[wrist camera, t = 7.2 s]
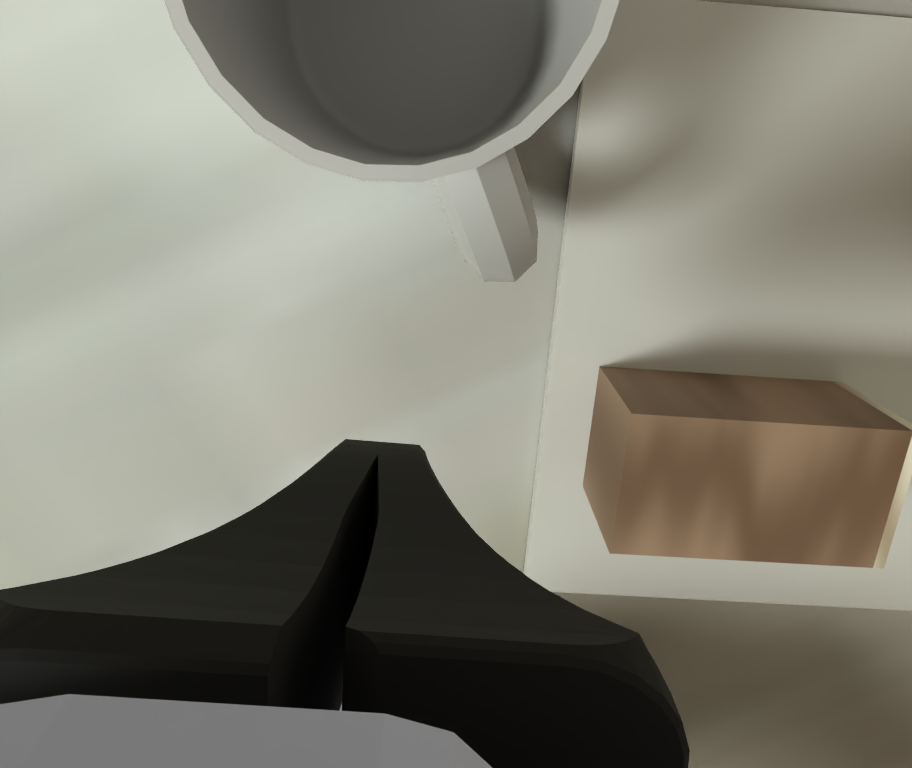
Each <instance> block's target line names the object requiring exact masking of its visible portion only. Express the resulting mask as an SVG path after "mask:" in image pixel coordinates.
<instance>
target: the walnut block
mask: <svg viewBox="0 0 912 768" xmlns="http://www.w3.org/2000/svg"><path fill="white" fill-rule="evenodd" d="M911 476H912V424H911V423H909V422H908V421H906V420H904V419H903V418H901V417H899V416H898V415H896V414H894V413H893V412H891V411H890V410H888V409H886V408H885V407H883V406H881V405H880V404H878V403H876V402H875V401H873V400H871V399H870V398H868V397H866V396H865V395H863V394H862V393H860V392H858V391H857V390H855V389H853V388H852V387H850V386H848V385H847V384H845V383H843V382H836V381H820V380H805V379H789V378H774V377H758V376H743V375H727V374H712V373H696V372H681V371H665V370H649V369H634V368H618V367H603V366H599V373H598V380H597V387H596V394H595V401H594V408H593V415H592V422H591V429H590V437H589V444H588V451H587V458H586V465H585V472H584V479H583V488H584V491H585V493H586V496H587V498H588V501H589V503H590V506H591V508H592V511H593V513H594V516H595V518H596V521H597V523H598V526H599V528H600V531H601V533H602V536H603V538H604V541H605V543H606V546H607V548H608V551H609V553H610V554H627V555H645V556H663V557H682V558H700V559H718V560H736V561H755V562H773V563H791V564H809V565H827V566H846V567H864V568H882V569H884V567H885V563H886V560H887V557H888V553H889V550H890V547H891V543H892V540H893V536H894V533H895V530H896V526H897V523H898V520H899V516H900V513H901V510H902V506H903V503H904V500H905V496H906V493H907V490H908V486H909V483H910V480H911Z"/></svg>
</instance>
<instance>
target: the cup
mask: <svg viewBox="0 0 912 768" xmlns="http://www.w3.org/2000/svg"><path fill="white" fill-rule="evenodd" d="M618 3H619V0H165V4H166V7H167V10H168V13H169V16H170V19H171V22H172V25H173V28H174V29H175V31H176V33H177V34H178V36H179V37H180V39H181V41H182V42H183V44H184V46H185V47H186V49H187V51H188V52H189V54H190V55H191V57H192V59H193V60H194V62H195V64H196V65H197V67H198V69H199V70H200V72H201V73H202V75H203V77H204V78H205V80H206V82H207V83H208V85H209V86H210V87H211V88H212V89H213V90H214V91H215V92H216V93H217V94H218V95H219V96H220V97H221V98H222V99H223V100H224V102H225V103H226V104H227V105H228V106H229V107H230V108H231V109H232V110H233V111H234V112H235V113H236V114H237V115H238V116H239V117H240V118H241V119H242V120H243V121H244V122H245V123H246V124H247V125H248V126H249V127H250V128H251V129H252V130H253V131H254V132H255V133H257V134H259V135H260V136H262V137H264V138H265V139H267V140H269V141H270V142H272V143H273V144H275V145H277V146H278V147H280V148H282V149H283V150H285V151H287V152H288V153H290V154H292V155H293V156H295V157H297V158H298V159H300V160H301V161H303V162H305V163H306V164H309V165H313V166H316V167H319V168H323V169H326V170H329V171H332V172H336V173H339V174H342V175H346V176H349V177H352V178H356V179H359V180H362V181H395V182H423V181H427V180H431V181H432V183H433V186H434V188H435V191H436V194H437V196H438V199H439V201H440V204H441V207H442V209H443V212H444V214H445V217H446V219H447V222H448V224H449V227H450V229H451V232H452V234H453V236H454V239H455V241H456V243H457V246H458V248H459V251H460V253H461V255H462V257H463V258H464V260H465V261H466V263H467V264H468V265H469V266H470V267H471V268H472V269H473V270H474V271H475V272H476V273H477V274H478V275H479V276H480V277H481V278H482V279H483V280H484V281H492V282H515V281H516V280H517V279H518V278H519V277H520V276H521V275H522V274H524V273H525V272H526V271H527V270H528V269H529V268H530V267H531V266H532V265H533V264H534V263H535V262H536V260H537V238H538V229H537V220H536V216H535V212H534V208H533V204H532V200H531V197H530V194H529V190H528V187H527V184H526V181H525V177H524V174H523V171H522V168H521V165H520V162H519V159H518V157H517V154H516V151H515V148H514V146H516V145H518V144H520V143H521V142H523V141H525V140H527V139H528V138H529V137H530V136H531V135H532V134H533V133H535V132H536V131H537V130H538V129H539V128H540V127H541V126H542V125H543V124H544V123H545V122H546V121H547V120H548V119H549V118H550V117H551V116H552V115H553V114H554V113H555V112H556V111H557V110H558V109H559V108H560V107H561V106H562V105H563V104H564V103H565V102H566V101H567V100H568V99H569V98H570V97H571V96H572V95H573V94H574V92H575V91H576V89H577V87H578V86H579V84H580V82H581V81H582V79H583V77H584V76H585V74H586V73H587V71H588V69H589V68H590V66H591V64H592V63H593V61H594V59H595V58H596V56H597V55H598V53H599V51H600V50H601V48H602V46H603V45H604V43H605V41H606V40H607V37H608V34H609V31H610V28H611V25H612V22H613V19H614V16H615V13H616V9H617V6H618Z"/></svg>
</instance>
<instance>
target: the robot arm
mask: <svg viewBox="0 0 912 768" xmlns="http://www.w3.org/2000/svg"><path fill="white" fill-rule="evenodd" d="M689 751H690V750H689V747H688V743H687V739H686V735H685V731H684V727H683V723H682V721H681V718H680V715H679V713H678V710H677V708H676V705H675V703H674V700H673V697H672V695H671V693H670V691H669V689H668V687H667V685H666V683H665V681H664V679H663V677H662V675H661V673H660V671H659V669H658V667H657V665H656V663H655V662H654V660H653V658H652V656H651V655H650V653H649V651H648V650H647V648H646V646H645V644H644V642H643V640H642V638H641V636H640V635H639V633H636V632H634V631H632V630H629V629H627V628H625V627H622V626H620V625H618V624H615V623H613V622H611V621H608V620H606V619H604V618H602V617H599V616H597V615H595V614H592V613H590V612H588V611H585V610H583V609H581V608H579V607H577V606H576V605H574V604H572V603H570V602H568V601H567V600H565V599H563V598H561V597H559V596H558V595H556V594H554V593H552V592H550V591H549V590H547V589H546V588H544V587H542V586H541V585H539V584H538V583H536V582H535V581H533V580H532V579H530V578H529V577H527V576H526V575H525V574H523V573H522V572H521V571H519V570H518V569H517V568H515V567H514V566H512V565H511V564H510V563H508V562H507V561H506V560H505V559H503V558H502V557H501V556H500V555H499V554H497V553H496V552H495V551H494V550H493V549H492V548H491V547H490V546H489V545H488V544H487V543H486V542H485V541H484V540H483V539H482V538H480V537H479V536H478V535H477V534H476V533H475V531H474V530H473V529H472V528H471V527H470V525H469V524H468V523H467V522H466V520H465V519H464V518H463V517H462V515H461V514H460V513H459V512H458V510H457V509H456V507H455V506H454V505H453V503H452V502H451V500H450V499H449V497H448V496H447V494H446V493H445V491H444V489H443V488H442V486H441V485H440V483H439V481H438V480H437V478H436V476H435V474H434V472H433V470H432V468H431V466H430V464H429V462H428V459H427V457H426V453H425V451H424V450H423V449H422V448H421V446H420V445H413V444H400V443H387V442H374V441H361V440H349V439H345V440H344V441H343V442H342V443H340V444H339V445H338V446H337V447H335V448H334V449H333V450H332V451H330V452H329V453H328V454H327V455H326V456H325V457H324V458H322V459H321V460H320V461H319V462H318V463H316V464H315V465H314V466H313V467H312V468H310V469H309V470H308V471H307V472H305V473H304V474H303V475H302V476H300V477H299V478H298V479H297V480H295V481H294V482H293V483H291V484H290V485H289V486H287V487H286V488H284V489H283V490H281V491H280V492H278V493H277V494H275V495H274V496H272V497H271V498H269V499H268V500H266V501H265V502H264V503H262V504H261V505H259V506H257V507H256V508H254V509H252V510H250V511H249V512H247V513H245V514H243V515H242V516H240V517H238V518H236V519H234V520H232V521H230V522H228V523H226V524H224V525H222V526H220V527H218V528H216V529H214V530H212V531H210V532H208V533H205V534H203V535H200V536H198V537H195V538H193V539H190V540H188V541H185V542H183V543H180V544H178V545H175V546H173V547H170V548H168V549H165V550H163V551H160V552H157V553H154V554H151V555H148V556H145V557H142V558H139V559H136V560H132V561H129V562H126V563H122V564H119V565H115V566H111V567H108V568H104V569H100V570H97V571H93V572H89V573H84V574H80V575H76V576H71V577H66V578H61V579H56V580H51V581H45V582H40V583H35V584H30V585H25V586H20V587H15V588H9V589H2V590H0V768H688V761H689Z"/></svg>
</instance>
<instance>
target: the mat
mask: <svg viewBox="0 0 912 768" xmlns="http://www.w3.org/2000/svg"><path fill="white" fill-rule="evenodd" d="M599 366H603V367H618V368H634V369H649V370H665V371H681V372H696V373H712V374H727V375H743V376H758V377H774V378H789V379H805V380H820V381H836V382H843V383H845V384H847V385H848V386H850V387H852V388H853V389H855V390H857V391H858V392H860V393H862V394H863V395H865V396H866V397H868V398H870V399H871V400H873V401H875V402H876V403H878V404H880V405H881V406H883V407H885V408H886V409H888V410H890V411H891V412H893V413H894V414H896V415H898V416H899V417H901V418H903V419H904V420H906V421H908V422H909V423H911V424H912V18H904V17H892V16H880V15H868V14H856V13H844V12H832V11H820V10H808V9H796V8H784V7H772V6H760V5H748V4H736V3H724V2H712V1H700V0H619V3H618V6H617V9H616V13H615V16H614V19H613V22H612V25H611V28H610V31H609V34H608V37H607V40H606V41H605V43H604V45H603V46H602V48H601V50H600V51H599V53H598V55H597V56H596V58H595V59H594V61H593V63H592V64H591V66H590V68H589V69H588V71H587V73H586V74H585V76H584V77H583V79H582V81H581V84H580V93H579V101H578V110H577V118H576V127H575V135H574V144H573V153H572V161H571V170H570V178H569V187H568V195H567V204H566V212H565V221H564V230H563V238H562V247H561V255H560V264H559V272H558V281H557V290H556V298H555V307H554V315H553V324H552V332H551V341H550V350H549V358H548V367H547V375H546V384H545V392H544V401H543V410H542V418H541V427H540V435H539V444H538V452H537V461H536V470H535V478H534V487H533V495H532V504H531V512H530V521H529V530H528V538H527V547H526V555H525V564H524V572H523V574H525V575H526V576H527V577H529V578H530V579H532V580H533V581H535V582H536V583H538V584H539V585H541V586H542V587H544V588H546V589H547V590H549V591H550V592H563V593H582V594H601V595H620V596H639V597H658V598H677V599H696V600H715V601H734V602H753V603H772V604H790V605H809V606H828V607H847V608H866V609H885V610H904V611H912V476H911V480H910V483H909V486H908V490H907V493H906V496H905V500H904V503H903V506H902V510H901V513H900V516H899V520H898V523H897V526H896V530H895V533H894V536H893V540H892V543H891V547H890V550H889V553H888V557H887V560H886V563H885V567H884V569H882V568H864V567H846V566H827V565H809V564H791V563H773V562H755V561H736V560H718V559H700V558H682V557H663V556H645V555H627V554H610V553H609V551H608V548H607V546H606V543H605V541H604V538H603V536H602V533H601V531H600V528H599V526H598V523H597V521H596V518H595V516H594V513H593V511H592V508H591V506H590V503H589V501H588V498H587V496H586V493H585V491H584V488H583V479H584V472H585V465H586V458H587V451H588V444H589V437H590V429H591V422H592V415H593V408H594V401H595V394H596V387H597V380H598V373H599Z"/></svg>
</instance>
